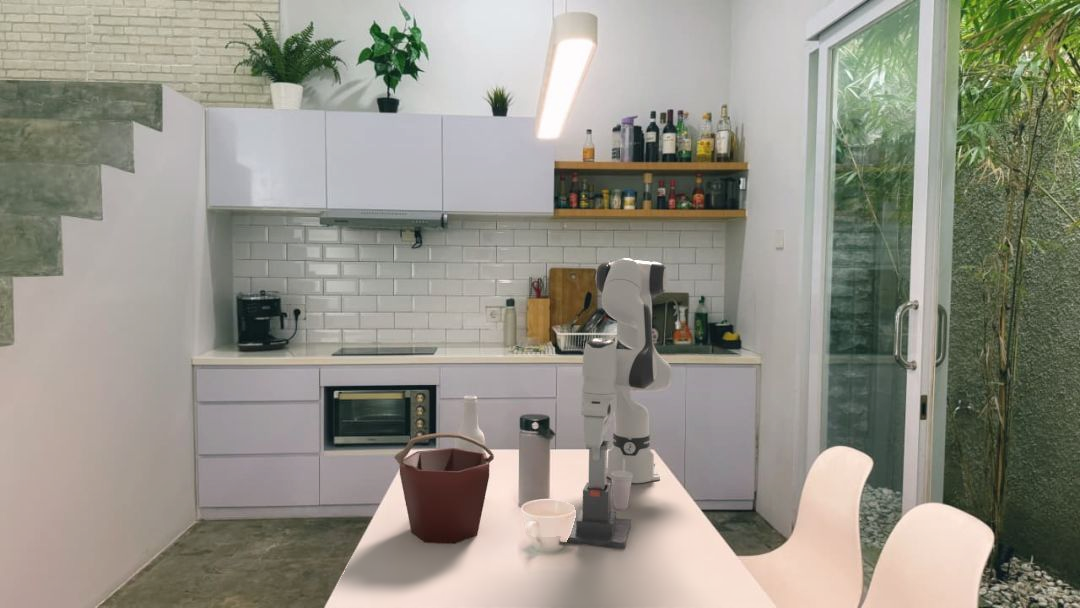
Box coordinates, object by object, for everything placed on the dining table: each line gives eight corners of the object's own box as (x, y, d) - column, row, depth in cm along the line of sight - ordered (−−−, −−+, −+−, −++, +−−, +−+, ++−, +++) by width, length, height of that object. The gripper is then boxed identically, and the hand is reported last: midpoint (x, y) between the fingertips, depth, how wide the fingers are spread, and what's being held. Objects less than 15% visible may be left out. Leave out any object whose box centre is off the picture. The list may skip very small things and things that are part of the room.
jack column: (588, 508, 178) (589, 439, 177) (608, 510, 177) (609, 441, 176) (585, 515, 173) (586, 444, 172) (605, 517, 172) (607, 446, 171)
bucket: (386, 546, 165) (386, 443, 164) (408, 513, 187) (408, 423, 186) (487, 549, 164) (488, 446, 163) (497, 516, 186) (498, 425, 185)
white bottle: (484, 503, 197) (485, 399, 195) (453, 503, 196) (454, 399, 194) (484, 493, 205) (485, 393, 204) (455, 493, 205) (455, 393, 203)
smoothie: (631, 512, 191) (632, 462, 190) (608, 510, 192) (609, 460, 192) (633, 504, 197) (634, 456, 197) (610, 502, 199) (611, 454, 198)
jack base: (571, 519, 185) (572, 474, 184) (630, 525, 181) (631, 479, 181) (559, 542, 169) (560, 493, 169) (624, 549, 166) (625, 499, 165)
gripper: (592, 394, 184) (591, 445, 185) (580, 409, 164) (579, 466, 165) (616, 395, 183) (615, 446, 184) (606, 411, 163) (605, 468, 164)
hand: (597, 456), depth 174 cm, fingers closed on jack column, 4 cm apart
